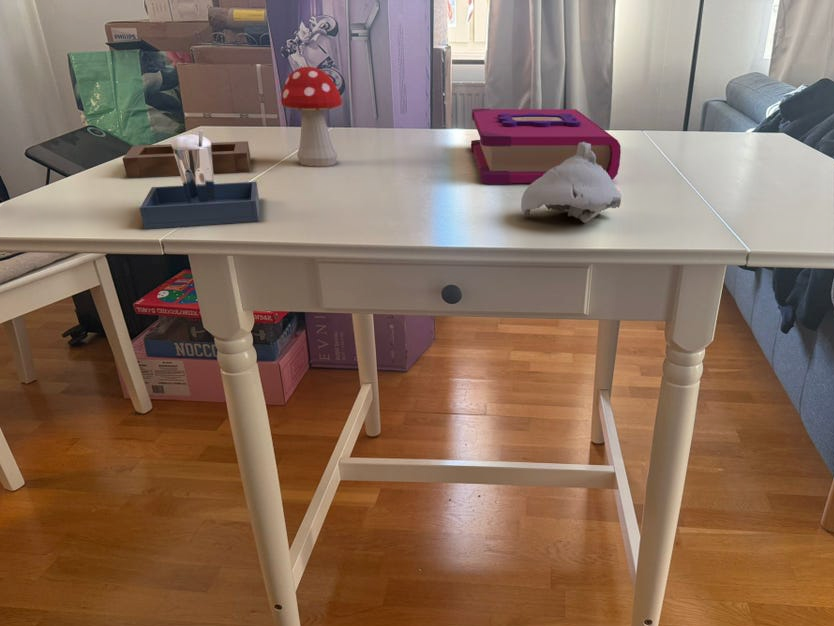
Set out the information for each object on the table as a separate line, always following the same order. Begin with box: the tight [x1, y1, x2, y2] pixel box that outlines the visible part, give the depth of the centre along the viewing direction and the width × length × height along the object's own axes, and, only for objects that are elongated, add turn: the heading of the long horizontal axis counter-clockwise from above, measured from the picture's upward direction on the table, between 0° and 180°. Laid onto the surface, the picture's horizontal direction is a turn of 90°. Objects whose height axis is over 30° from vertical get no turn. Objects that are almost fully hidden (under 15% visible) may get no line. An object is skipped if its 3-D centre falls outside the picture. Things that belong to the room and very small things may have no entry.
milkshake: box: [170, 130, 216, 204], centre depth 84 cm, size 5×5×10 cm
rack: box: [121, 140, 251, 179], centre depth 109 cm, size 18×10×3 cm, turn 106°
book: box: [470, 108, 622, 185], centre depth 113 cm, size 21×28×8 cm
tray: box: [139, 181, 260, 230], centre depth 86 cm, size 13×10×3 cm
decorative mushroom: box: [280, 66, 343, 167], centre depth 110 cm, size 10×9×15 cm
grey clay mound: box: [520, 142, 622, 224], centre depth 84 cm, size 12×12×11 cm
